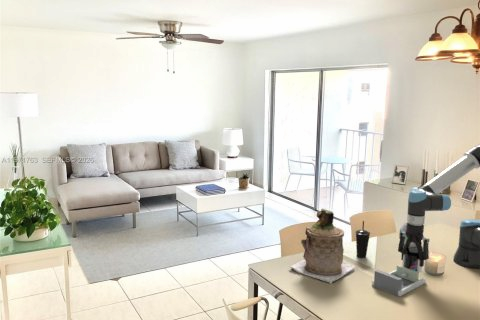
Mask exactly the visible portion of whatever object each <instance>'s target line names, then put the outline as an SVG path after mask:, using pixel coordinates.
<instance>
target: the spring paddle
mask: <svg viewBox="0 0 480 320" xmlns="http://www.w3.org/2000/svg"><path fill="white" fill-rule="evenodd" d="M396 269H397V271H396V276H399V277H401V278H404V279H407V280H410V281H412V282H416V281H418V280H419V279H420V278H419V277H420V276H419V274H420V273H419V272H417V271H414V270H411V269H408V268H405V267H403V266H402V265H399V264H397V265H396Z"/></svg>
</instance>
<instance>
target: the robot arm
mask: <svg viewBox="0 0 480 320" xmlns="http://www.w3.org/2000/svg"><path fill="white" fill-rule="evenodd" d="M479 168H480V143H479V144H478V145H474V146H473V147H472V148H470V149H469V150H467V151H466V152H464V153H463V157H461V158H460V159H458V160H457V161H455V162H454V163H453V164H451V165H450V166H448V167H447V168H445V169H444V170H443V171H441V172H440V173H438V174H437V175H436V176H434V177H433V178H432V179H430V180H429V181H427V182H426V183H425V184H423V185H422V186H416V187H415V186H414V187H413V188H411V189H410V191H409V194H408V199H407V201H408V203H407V213H406V214H407V217H406V221H407V222H408V223H407V226H406V230H407V231H406V232H401V233H400V238H399V242H398V247H397V248H398V249H397V252H398V253H400V254H401V256H400V257H401V259H400V260H401V261H402V265H401V266H403V267H404V265H405V251H406V248H410V247H409V246H410V244H411V242H413V243H415V245H416V246H417V247H416V248H417V250H418V254H419V258H420V259H418V265H417V272H419V274H420V273H422V271H423V270H422V269H423V267H424V266H425V261H426V260H428V259H429V258H430V256H429V243H430V238H426V237H425V236H424V231H425V230H424V229H425V218H426V217H425V215H426V212H439V211H440V212H443V211H448V210H450V209H451V207H452V200H451V197H450V196H449V195H448V194H443V193H441V192H442V191H444V190H445V189H447V188H449V187H451V185H453V184H454V183H456V182H457V181H458V180H461V178H464V177H465V176H466V175H468V174H469V173H470V172H471V171H473V170H474V169H479ZM405 236H407V241H406V244H405V246H404V241H405ZM458 236H459V237H458V246H457V248H456V250H455V253H454V254H453V262H454V263H456V264H458V265H460V266H463V267H466V268H470V269H480V219H475V218H474V219H473V218H466V219H462V220H461V221H460V225H459V235H458Z"/></svg>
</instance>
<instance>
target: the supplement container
mask: <svg viewBox="0 0 480 320" xmlns="http://www.w3.org/2000/svg"><path fill="white" fill-rule="evenodd" d="M418 259H420V258H419V254H418V250H417V247H409V248H406V251H405V265H404V267H405V268H408V269H411V270H414V271H417V265H418Z"/></svg>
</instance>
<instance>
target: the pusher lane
mask: <svg viewBox="0 0 480 320" xmlns="http://www.w3.org/2000/svg"><path fill="white" fill-rule="evenodd" d="M396 271H397V268H396V269H394V270H392V271H390V272H386V271H383V270H380V269H376V270H374V277H373V279H372V281H371V286H373V288H374V287H375V288H378V289H379V290H382V291H383V292H384V291H385V292H387V293H389V294H392V295H395V296H397V297H399V298H401V297H403V296H405V295H407V294H409V293H410V292H412V291H414V290H416V289H417V288H420V287H421V286H423V285H425V284H426V281H427V278H426V277H422V278H421V279H420V278H419V279H418V281H416V282H412V281H410V280H407V279H404V278H401V277H399V276H396Z"/></svg>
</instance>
